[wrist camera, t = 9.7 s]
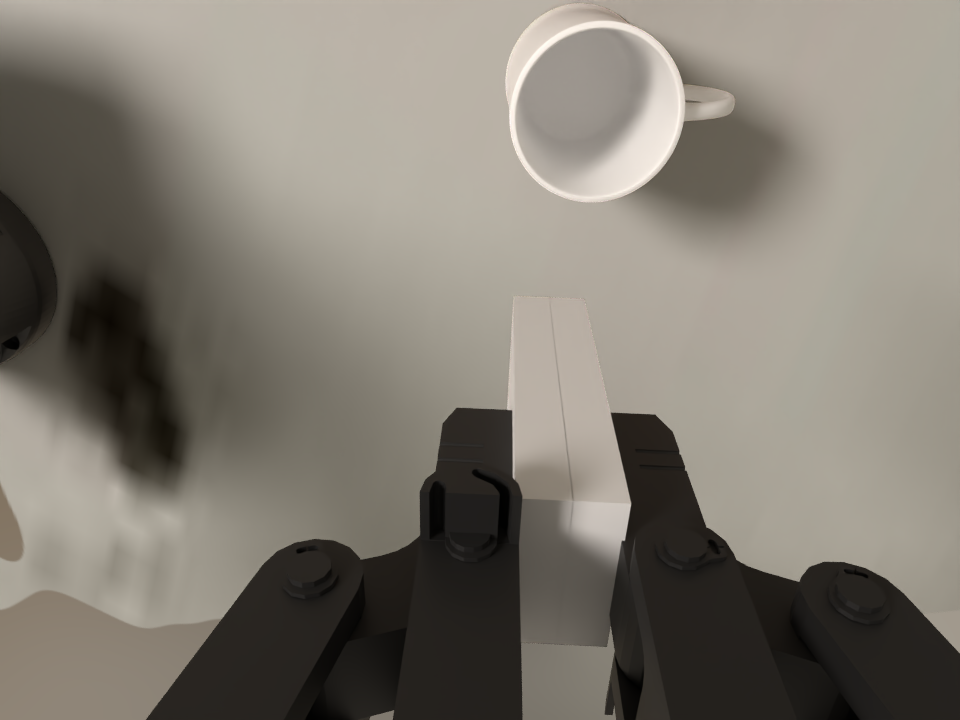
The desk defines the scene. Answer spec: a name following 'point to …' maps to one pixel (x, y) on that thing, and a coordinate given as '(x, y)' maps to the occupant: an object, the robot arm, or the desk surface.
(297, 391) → the desk surface
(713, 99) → the mug
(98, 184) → the desk surface
